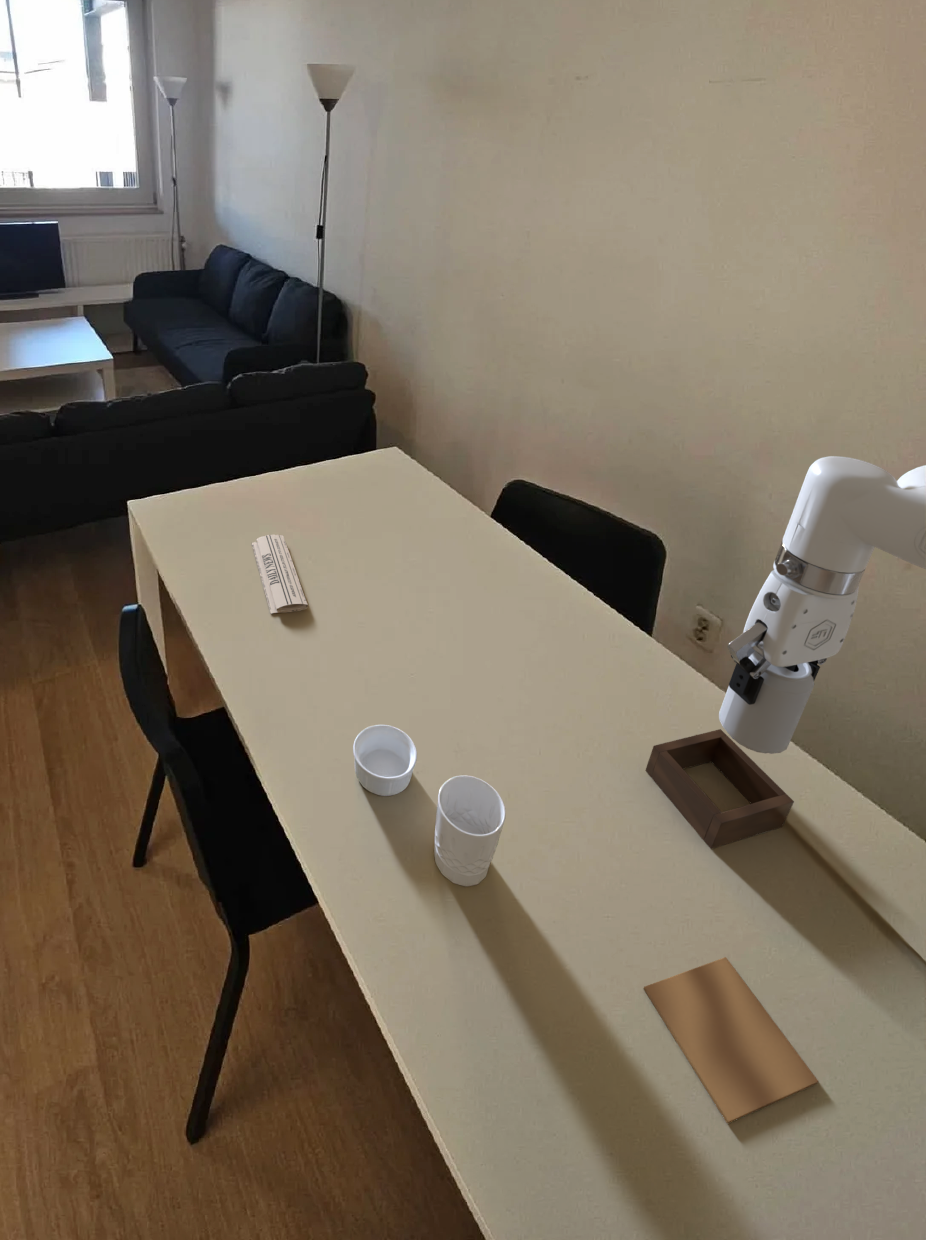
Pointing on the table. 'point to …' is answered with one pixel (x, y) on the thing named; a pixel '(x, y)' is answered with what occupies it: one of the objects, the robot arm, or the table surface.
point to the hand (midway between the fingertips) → (768, 688)
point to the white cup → (467, 829)
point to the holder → (738, 769)
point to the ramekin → (384, 759)
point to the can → (768, 708)
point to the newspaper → (278, 575)
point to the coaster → (729, 1039)
